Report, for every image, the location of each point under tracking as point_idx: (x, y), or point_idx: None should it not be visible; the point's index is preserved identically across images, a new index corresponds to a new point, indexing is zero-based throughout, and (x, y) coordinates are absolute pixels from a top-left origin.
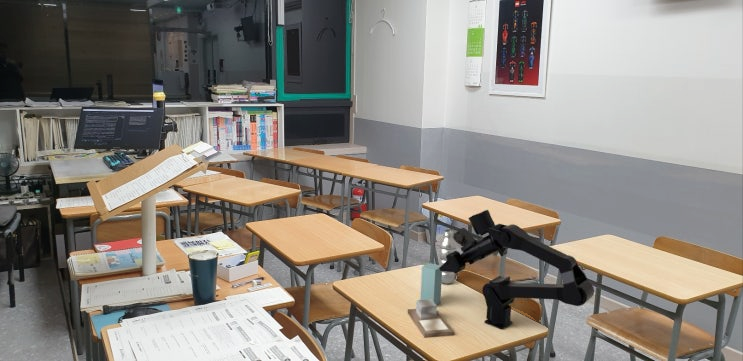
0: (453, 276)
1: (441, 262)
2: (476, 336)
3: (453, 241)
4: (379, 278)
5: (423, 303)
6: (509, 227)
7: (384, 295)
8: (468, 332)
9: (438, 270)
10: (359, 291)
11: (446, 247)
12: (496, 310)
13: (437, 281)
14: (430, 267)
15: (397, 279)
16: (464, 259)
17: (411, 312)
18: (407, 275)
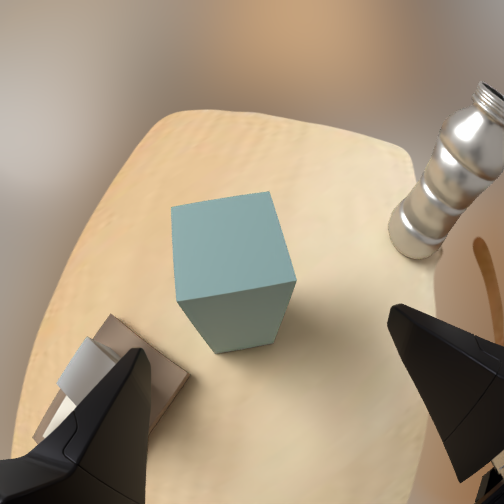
0: (431, 250)
1: (420, 187)
2: None
3: (499, 148)
4: (262, 130)
5: (81, 374)
6: None
7: (178, 194)
8: None
9: (234, 298)
10: (159, 152)
11: (460, 151)
12: None
13: (231, 323)
14: (200, 245)
15: (297, 152)
16: (446, 402)
17: (99, 337)
18: (339, 153)
